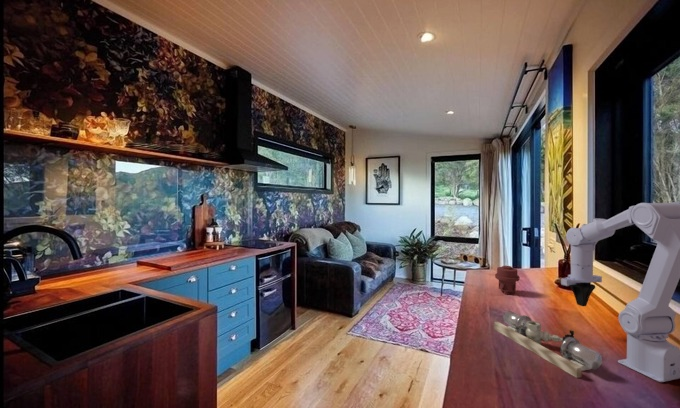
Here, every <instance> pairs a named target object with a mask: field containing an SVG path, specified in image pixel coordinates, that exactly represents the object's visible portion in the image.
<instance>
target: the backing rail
mask: <svg viewBox="0 0 680 408" xmlns="http://www.w3.org/2000/svg"><path fill="white" fill-rule="evenodd" d="M493 330H494V331H496V332H498V333H500V334H501V335H503V336H505V337H507V338H508V339H510V340H512V341H513V342H514V343H517V344H518V345H520V346H522V347H523V348H525V349H527V350H529V351H531V352H532V353H534V354H536V355H537V356H538V357H541V358H542V359H544V360H546V362H547V361H548V362H549V363H551V364H553V365H554V366H556V367H557V368H559V369H561V370H563V371H564V372H566V373H567V374H569V375H571V376H573V377H575V378H576V379H578V378H582V371H581V367H580V366H578V365H576V364H574V363H573V362H571V361H570V360H569V359H566V358H565V357H563V356H561V354H560V355H559V354H558V353H557V352H554V351H553V350H550V349H549V348H547V347H545V346H543V345H542V344H541V345H540V344H538V343H536V342H534V341H532V340H531V339H529V338H527V336H525V335H524V334H521V333H518V332H516V331H514V330H512V329H510V328H509V327H508V326H506V325H505V324H504V323H501V322H500V321H493Z"/></svg>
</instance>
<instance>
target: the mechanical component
mask: <svg viewBox="0 0 680 408" xmlns="http://www.w3.org/2000/svg"><path fill="white" fill-rule="evenodd" d="M494 278H495V279H496V280H497V281H498V289H499V290H500V291H501V292H503V294H504V295H511V294H512V295H513V294H516V290H517V282H519V281H521V280H520V275H518V269H517V268H515V267H512V266H511V265H502V266H498V267H497V268H496V273H495V274H494Z"/></svg>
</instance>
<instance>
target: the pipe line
mask: <svg viewBox="0 0 680 408" xmlns="http://www.w3.org/2000/svg"><path fill="white" fill-rule="evenodd" d="M502 319H503V321H504V323H505V324H507V325H508V326H507V327H509V328H510V329H512V330H514V331H516V332H518V333H520V334H521V335H526V329H527V327H526V322H528V321H533V320H532V319H531V317H530V316H528V315H524V314H523V315H520V314H517V313H516V312H513V311H511V310H507V311H505V312H504V314H503V316H502ZM559 348H560V353H561V354H560V355H562V357H563V358H565V359H567V360H569V361H571V362H573V363H574V364H576V365H578V366H580V367H581V372H584V371H588V370H597V369H598V368H600V366H601V364H602V362H603V357H602V355H601V354H600V352H597V351H595V350H594V349H591V348H589V347H587V346H585V345H583V344H581V343H580V340H578V339H576V337H574V338H573V337H568V338H566V339H564V340H563V342H562V341H561V344H560V347H559Z"/></svg>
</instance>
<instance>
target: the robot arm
mask: <svg viewBox="0 0 680 408" xmlns="http://www.w3.org/2000/svg"><path fill="white" fill-rule="evenodd" d="M632 225H635V226H636V227H637V228H639V229H640V230H641V231H642V232H644V234H646V235H647V236H648V237H649V238H650V239H652V240H654V241H655V243H656V248H655V250H654V252H653V254H652V258H651V260H650V263H649V266H648V269H647V272H646V274H645V277H644V279H643V283H642V285H641V288H640V291H639V292H638V293H639V294H638V296H637V297H636V298H635V299H632V300H631V301H629V302H627V303H626V306H625V307H624V309H623V310H621V311H620V312H619V313H618V322H619V324H620V327H621V328H622V329H623V331H624V333H626V358H623V359H618V360H617V363H619V364H621V365H623V366H625V367H627V368H629V369H632V370H633V371H635V372H637V373H640V374H642V375H644V376H645V377H648V378H650V379H652V380H654V381H656V382H659V383H664V382H670V381H674V380H679V379H680V348H679V347H678V346H677V345H674V344H672V343H671V342H669V341H668V339H669V335H670V334H672V333H673V332H674V331H675V329H676V321H675V318H676V315H677V312H675V311H674V309H673V308H671V307H670V303H671V301H672V298H673V295H674V293H675V291H676V288H677V286H678V283H679V281H680V201H671V202H650V203H649V202H640V203H637V204H636V205H631V206H629V207H628V209H626V210H623V211H622V212H619V213H617V214H616V215H614V216H612V217H610V218H608V219H606V218H597V217H595V218H593V219H592V222H589V223H586V224H585V223H584V224H581V226H580V227H570V228H569V229H568V230H567V232H566V234H565V235H566V240H567V241H566V242H567V243H568V244H569V245H570V274H567V277H563V278H560V284H561V286H565V287H570V290H571V292H572V293H573V296H574V298H575V301H576V304H577V305H578V306H579V307H587V305H588V301H589V298H590V296H591V294H592V293H593V291H594V290H595V289H596V285H595V284H592V283H603V282H602V281H603V280H602V279H603V276H601V275H596V274H594V251H595V250H596V245H597V243H598V242H599V241H601V240H604V239H607V238H609V237H612V236H613V235H615V233H616V230H619V229H623V228H625V227H626V228H627V227H629V226H632Z"/></svg>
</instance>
